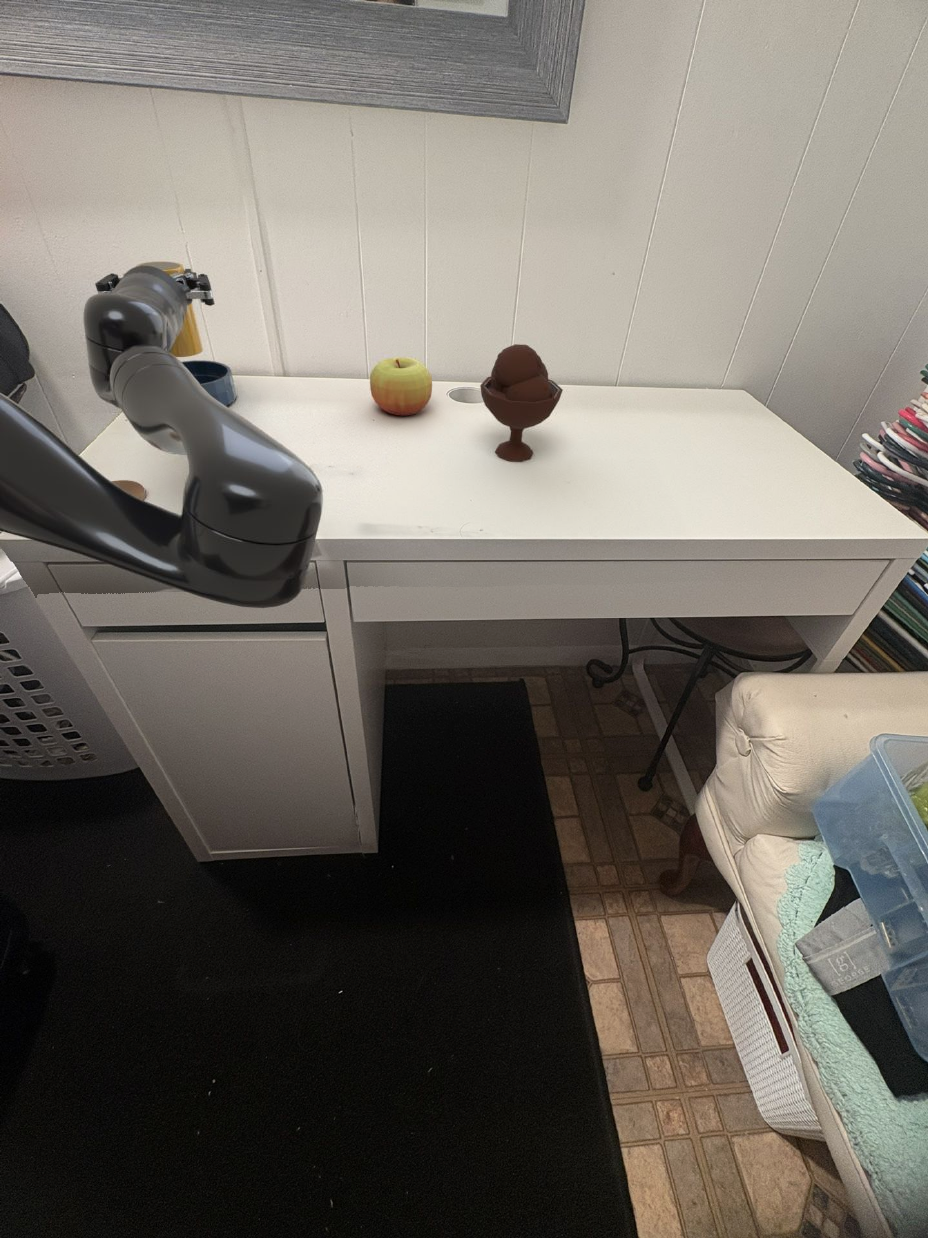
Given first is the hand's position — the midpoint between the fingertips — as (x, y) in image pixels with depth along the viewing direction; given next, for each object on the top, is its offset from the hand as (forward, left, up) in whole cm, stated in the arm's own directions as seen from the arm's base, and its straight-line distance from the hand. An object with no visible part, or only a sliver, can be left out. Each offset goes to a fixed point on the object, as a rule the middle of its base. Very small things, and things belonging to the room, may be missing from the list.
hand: (165, 276), depth 81 cm
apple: (+30, -15, -17) cm, 37 cm away
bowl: (0, -2, -17) cm, 17 cm away
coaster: (-12, -29, -17) cm, 36 cm away
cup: (-1, -2, -9) cm, 10 cm away
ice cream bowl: (+40, -35, -17) cm, 56 cm away
